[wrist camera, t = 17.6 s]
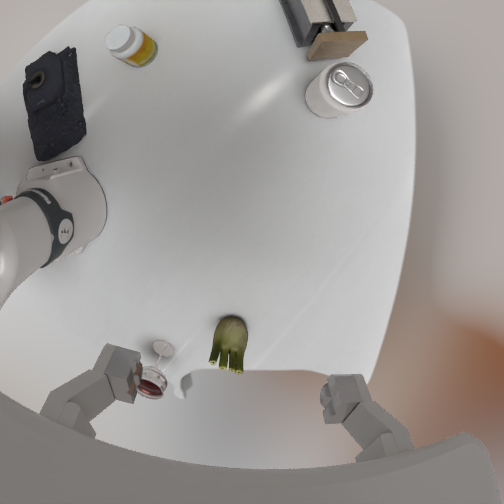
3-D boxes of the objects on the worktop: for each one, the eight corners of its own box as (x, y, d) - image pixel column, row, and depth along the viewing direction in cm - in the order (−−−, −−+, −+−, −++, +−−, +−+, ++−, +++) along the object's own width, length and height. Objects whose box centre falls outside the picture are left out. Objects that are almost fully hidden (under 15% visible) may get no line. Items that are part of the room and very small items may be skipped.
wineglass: (162, 332, 53) (145, 374, 42) (184, 353, 55) (171, 395, 44) (143, 343, 55) (124, 382, 44) (164, 362, 57) (149, 402, 46)
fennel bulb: (214, 319, 51) (204, 364, 40) (234, 307, 50) (227, 352, 39) (233, 338, 53) (227, 383, 42) (253, 327, 52) (251, 373, 41)
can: (318, 71, 34) (339, 48, 22) (353, 95, 35) (385, 82, 24) (296, 102, 36) (310, 88, 25) (332, 126, 37) (359, 123, 26)
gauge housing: (339, 42, 31) (360, 20, 22) (297, 47, 32) (307, 22, 23) (319, -7, 27) (332, -37, 18) (277, -3, 28) (281, -35, 19)
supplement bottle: (126, 68, 33) (96, 56, 25) (132, 40, 31) (104, 24, 22) (155, 66, 34) (129, 51, 25) (161, 38, 31) (138, 18, 23)
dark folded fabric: (39, 168, 40) (24, 172, 36) (25, 77, 32) (11, 76, 27) (92, 138, 38) (76, 139, 34) (76, 39, 30) (62, 34, 26)
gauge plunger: (347, 56, 30) (371, 36, 21) (309, 60, 31) (323, 38, 22) (327, 5, 27) (344, -24, 18) (290, 8, 27) (297, -23, 18)
